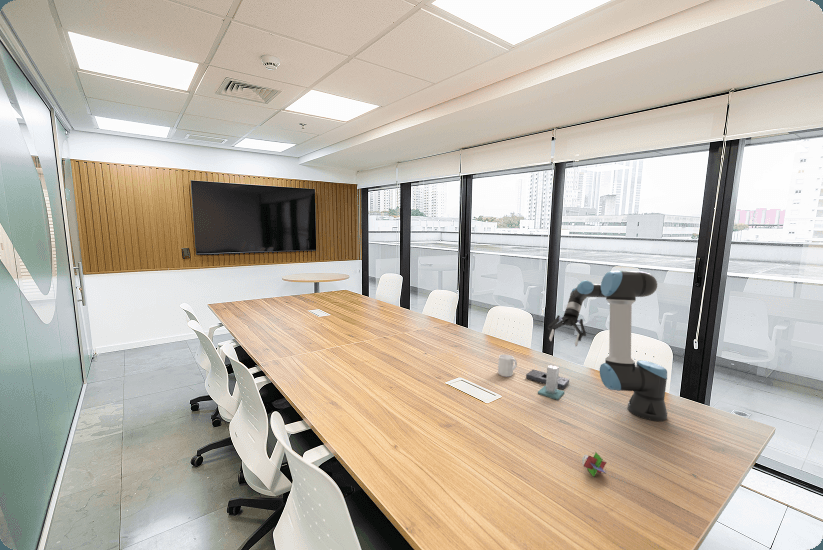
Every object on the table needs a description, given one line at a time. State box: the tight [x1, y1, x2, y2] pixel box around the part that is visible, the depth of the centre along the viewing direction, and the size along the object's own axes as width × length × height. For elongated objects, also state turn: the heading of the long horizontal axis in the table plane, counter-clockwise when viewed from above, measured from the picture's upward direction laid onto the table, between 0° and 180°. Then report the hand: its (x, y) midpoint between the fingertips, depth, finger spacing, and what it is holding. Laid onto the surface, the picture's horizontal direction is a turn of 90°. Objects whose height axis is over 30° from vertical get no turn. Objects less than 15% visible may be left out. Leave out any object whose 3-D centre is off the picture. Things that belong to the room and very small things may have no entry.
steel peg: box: [545, 364, 560, 394], centre depth 177 cm, size 4×4×13 cm
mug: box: [497, 354, 518, 378], centre depth 202 cm, size 12×8×10 cm
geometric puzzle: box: [581, 451, 607, 478], centre depth 119 cm, size 7×7×8 cm
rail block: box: [525, 368, 570, 390], centre depth 193 cm, size 20×10×2 cm, turn 50°
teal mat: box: [537, 385, 565, 401], centre depth 178 cm, size 10×10×1 cm
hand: (562, 342), depth 194 cm, fingers open, 13 cm apart
